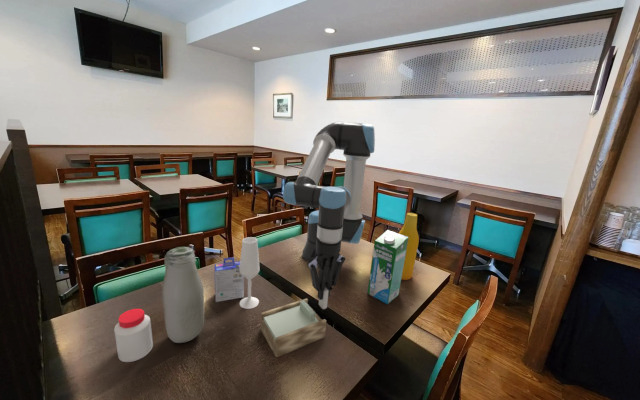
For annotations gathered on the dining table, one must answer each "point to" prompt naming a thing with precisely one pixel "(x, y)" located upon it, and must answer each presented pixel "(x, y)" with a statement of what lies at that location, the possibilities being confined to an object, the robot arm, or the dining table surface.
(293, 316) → the lid
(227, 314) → the dining table surface
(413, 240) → the beer bottle
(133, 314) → the pill bottle
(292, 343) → the box
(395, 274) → the milk carton
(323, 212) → the robot arm
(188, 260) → the glass bottle
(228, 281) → the ink cartridge box
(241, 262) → the champagne flute
